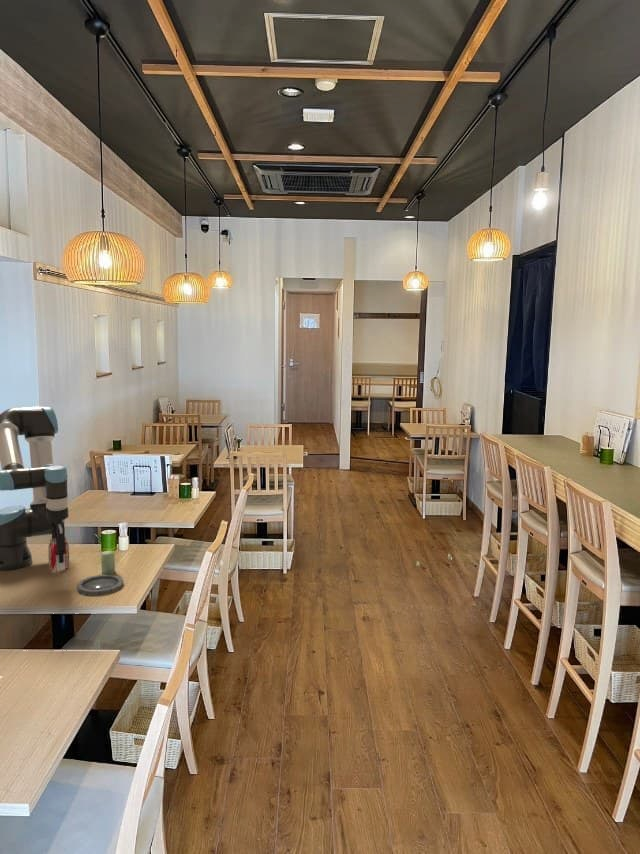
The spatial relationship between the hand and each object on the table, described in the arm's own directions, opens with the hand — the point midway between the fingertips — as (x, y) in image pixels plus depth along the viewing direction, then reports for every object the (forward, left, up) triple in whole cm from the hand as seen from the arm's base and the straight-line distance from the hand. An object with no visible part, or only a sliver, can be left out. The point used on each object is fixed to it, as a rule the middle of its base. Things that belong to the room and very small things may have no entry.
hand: (59, 566), depth 228 cm
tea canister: (-5, +19, -8) cm, 21 cm away
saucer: (+8, +13, -8) cm, 17 cm away
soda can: (0, 0, -2) cm, 2 cm away
